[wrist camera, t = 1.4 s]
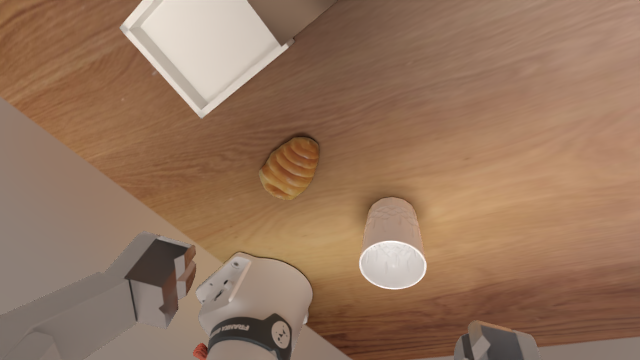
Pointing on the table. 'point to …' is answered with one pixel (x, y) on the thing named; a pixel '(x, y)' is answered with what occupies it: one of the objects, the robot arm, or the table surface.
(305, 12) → the step block
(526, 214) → the table surface
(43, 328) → the robot arm
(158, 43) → the tray
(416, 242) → the white cup
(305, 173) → the pastry
